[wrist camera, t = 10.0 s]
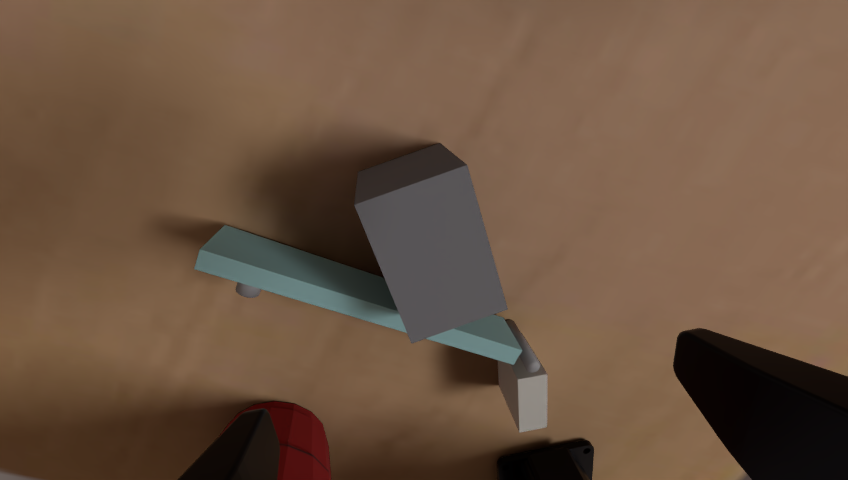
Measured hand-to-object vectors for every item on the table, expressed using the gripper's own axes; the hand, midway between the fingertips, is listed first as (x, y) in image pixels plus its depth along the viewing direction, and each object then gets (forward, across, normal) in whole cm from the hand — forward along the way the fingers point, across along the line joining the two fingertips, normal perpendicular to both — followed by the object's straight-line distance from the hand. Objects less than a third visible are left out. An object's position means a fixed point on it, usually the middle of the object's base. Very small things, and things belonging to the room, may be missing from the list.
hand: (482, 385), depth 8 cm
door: (+12, +3, +4) cm, 13 cm away
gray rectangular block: (+13, 0, +1) cm, 13 cm away
